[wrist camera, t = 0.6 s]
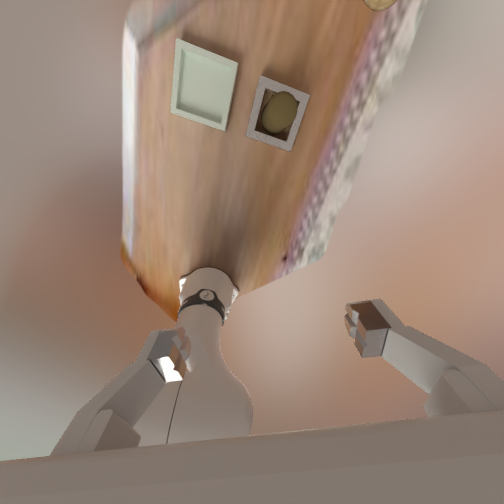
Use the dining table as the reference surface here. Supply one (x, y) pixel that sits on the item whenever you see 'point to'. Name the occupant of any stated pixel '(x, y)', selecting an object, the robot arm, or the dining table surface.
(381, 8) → the hand bell
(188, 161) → the dining table surface
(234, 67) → the sage tray
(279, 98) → the cork
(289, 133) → the grey square frame
